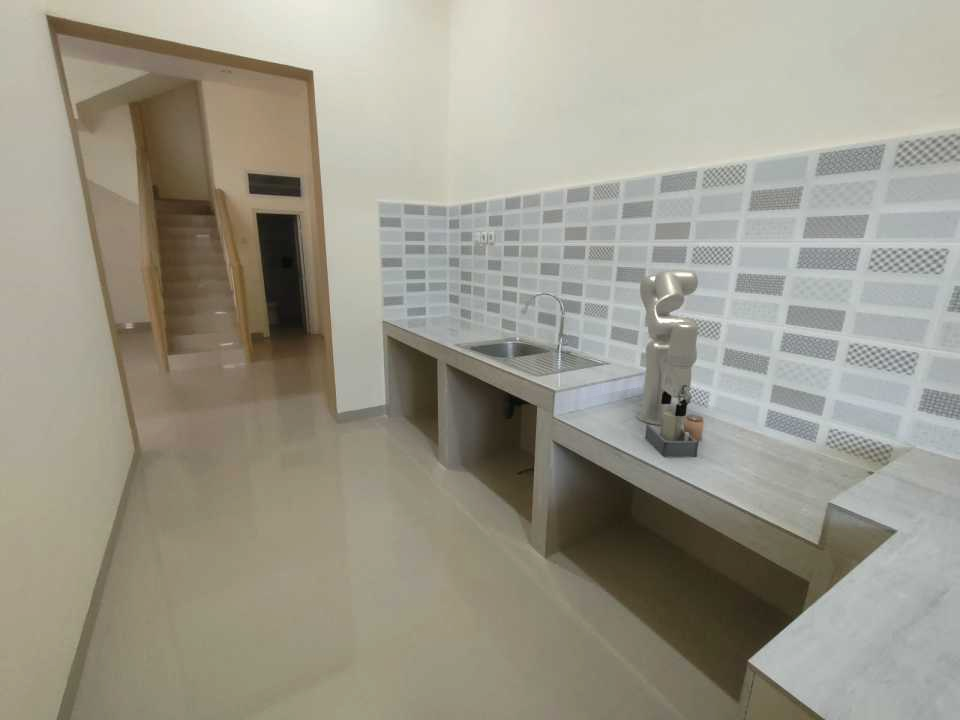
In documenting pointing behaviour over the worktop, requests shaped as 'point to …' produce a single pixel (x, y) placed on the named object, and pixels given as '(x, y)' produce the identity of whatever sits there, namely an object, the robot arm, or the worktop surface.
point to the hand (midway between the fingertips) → (672, 409)
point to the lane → (672, 444)
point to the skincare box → (671, 426)
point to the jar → (694, 426)
